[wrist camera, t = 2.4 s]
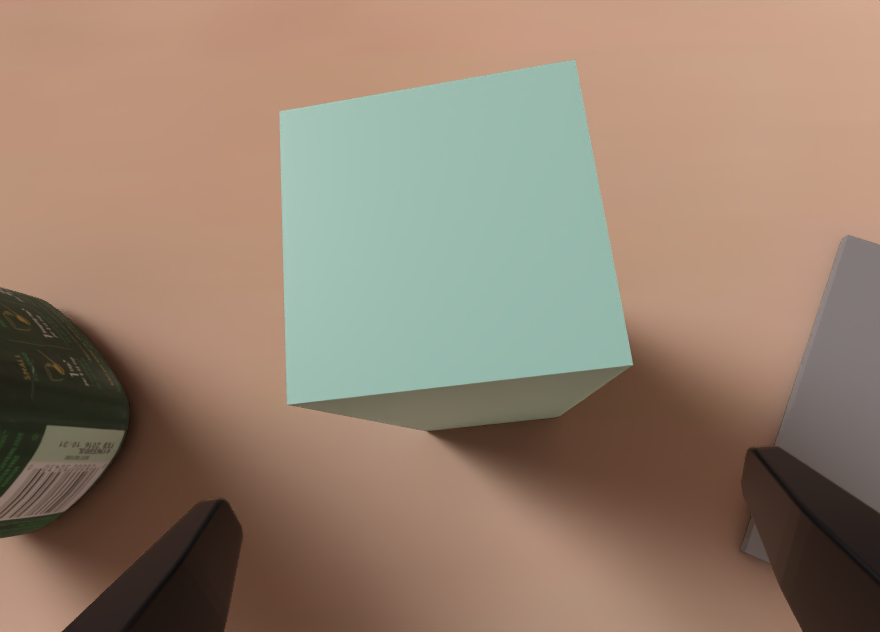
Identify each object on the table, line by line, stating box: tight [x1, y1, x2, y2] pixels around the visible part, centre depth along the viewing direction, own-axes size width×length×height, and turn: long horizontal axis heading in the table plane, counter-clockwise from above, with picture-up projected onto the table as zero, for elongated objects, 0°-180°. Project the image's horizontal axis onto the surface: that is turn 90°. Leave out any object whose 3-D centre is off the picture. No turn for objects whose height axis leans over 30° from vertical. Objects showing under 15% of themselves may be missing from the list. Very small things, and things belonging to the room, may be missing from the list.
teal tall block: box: [280, 60, 633, 431], centre depth 15 cm, size 5×5×13 cm
